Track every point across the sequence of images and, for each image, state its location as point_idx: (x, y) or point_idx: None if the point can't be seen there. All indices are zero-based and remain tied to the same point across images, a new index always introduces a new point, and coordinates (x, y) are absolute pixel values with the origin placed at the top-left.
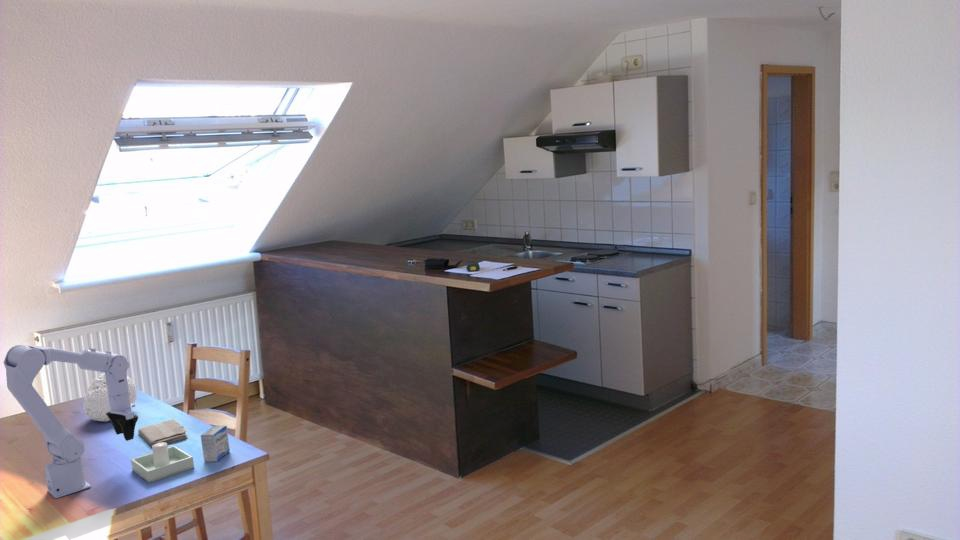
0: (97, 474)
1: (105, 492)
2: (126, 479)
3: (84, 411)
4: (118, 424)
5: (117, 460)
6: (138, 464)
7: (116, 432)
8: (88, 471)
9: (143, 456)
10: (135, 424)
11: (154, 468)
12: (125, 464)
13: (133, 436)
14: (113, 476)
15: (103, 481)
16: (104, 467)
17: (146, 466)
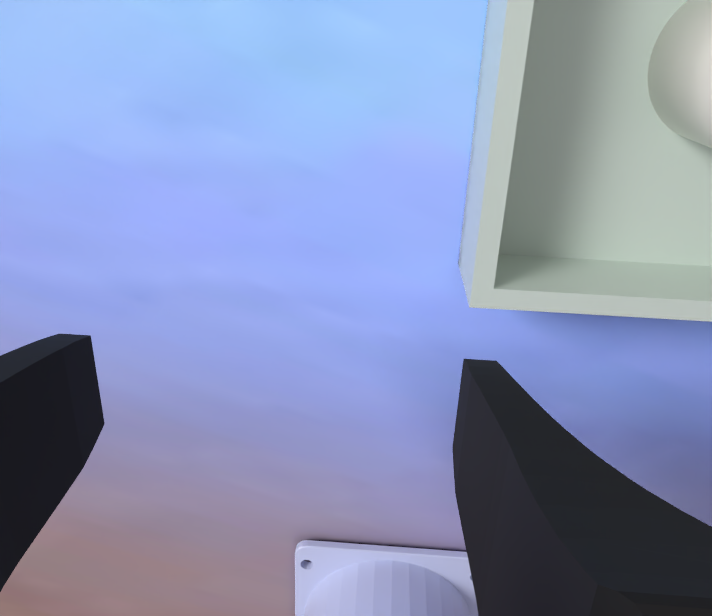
0: (286, 449)
1: None
2: (590, 365)
3: None
4: (5, 494)
5: (106, 250)
6: (675, 314)
7: (87, 452)
8: (172, 464)
9: (506, 185)
10: (651, 494)
11: (661, 132)
12: (259, 243)
13: (509, 376)
14: (433, 399)
15: None
16: (184, 372)
17: (535, 163)
